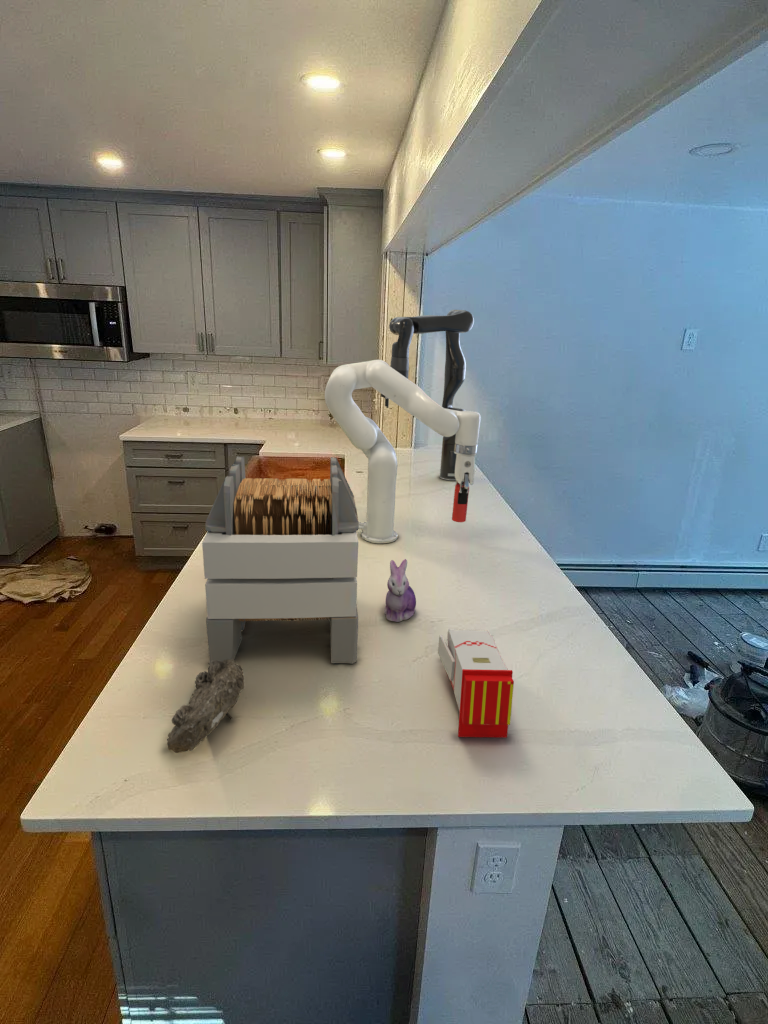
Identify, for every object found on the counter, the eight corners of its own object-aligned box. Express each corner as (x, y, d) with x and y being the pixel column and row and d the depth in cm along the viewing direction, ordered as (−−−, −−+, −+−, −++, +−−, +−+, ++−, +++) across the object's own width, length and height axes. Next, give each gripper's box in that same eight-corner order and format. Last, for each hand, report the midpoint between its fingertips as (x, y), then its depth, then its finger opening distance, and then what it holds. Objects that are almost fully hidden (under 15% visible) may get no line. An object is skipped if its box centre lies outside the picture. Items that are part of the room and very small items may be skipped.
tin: (468, 520, 196) (472, 486, 191) (460, 523, 192) (464, 489, 188) (456, 516, 198) (460, 483, 194) (449, 519, 195) (452, 485, 191)
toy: (488, 613, 130) (523, 677, 101) (484, 667, 133) (517, 744, 104) (435, 612, 130) (455, 676, 101) (432, 666, 133) (451, 743, 103)
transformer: (229, 593, 154) (221, 446, 140) (350, 592, 157) (353, 448, 144) (206, 668, 122) (192, 488, 108) (358, 664, 126) (363, 489, 112)
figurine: (392, 627, 141) (395, 572, 136) (374, 608, 149) (376, 556, 144) (425, 619, 145) (429, 566, 140) (405, 601, 154) (408, 550, 149)
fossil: (192, 660, 117) (244, 628, 112) (224, 691, 120) (276, 661, 115) (142, 746, 98) (202, 712, 93) (182, 779, 101) (242, 748, 96)
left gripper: (482, 455, 179) (476, 510, 185) (471, 443, 195) (466, 493, 201) (459, 455, 179) (454, 509, 185) (450, 442, 195) (445, 493, 201)
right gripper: (417, 368, 235) (414, 407, 241) (383, 366, 236) (381, 405, 242) (416, 370, 228) (414, 410, 234) (381, 368, 229) (379, 408, 235)
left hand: (460, 500), depth 193 cm, fingers closed on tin, 4 cm apart
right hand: (397, 408), depth 238 cm, fingers open, 8 cm apart
